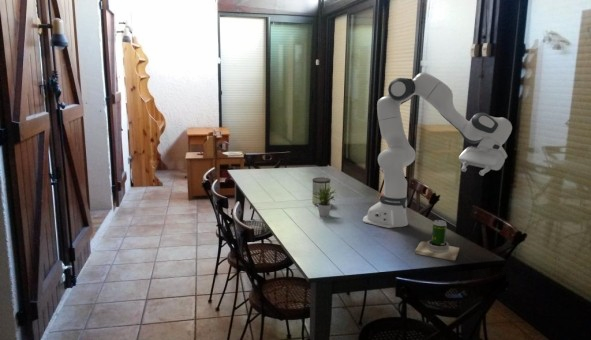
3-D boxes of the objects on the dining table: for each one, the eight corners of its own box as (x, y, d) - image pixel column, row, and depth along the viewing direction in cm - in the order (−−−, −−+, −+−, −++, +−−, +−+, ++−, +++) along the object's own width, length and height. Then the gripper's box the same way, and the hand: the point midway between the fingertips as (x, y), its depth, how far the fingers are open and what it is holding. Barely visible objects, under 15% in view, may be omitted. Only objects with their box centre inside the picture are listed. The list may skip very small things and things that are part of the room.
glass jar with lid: (312, 200, 276) (313, 177, 273) (330, 201, 275) (330, 177, 272) (311, 205, 266) (311, 181, 263) (329, 205, 265) (330, 181, 262)
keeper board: (415, 253, 196) (415, 244, 196) (421, 244, 207) (421, 235, 206) (454, 260, 189) (455, 251, 188) (459, 250, 200) (459, 242, 199)
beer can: (447, 249, 197) (449, 222, 195) (439, 252, 194) (442, 224, 191) (435, 245, 201) (437, 218, 199) (428, 248, 198) (430, 221, 195)
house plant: (336, 221, 238) (337, 189, 235) (309, 219, 241) (310, 188, 237) (339, 213, 252) (340, 183, 248) (314, 211, 254) (314, 182, 251)
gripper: (465, 141, 217) (449, 164, 214) (505, 147, 200) (488, 172, 197) (471, 150, 220) (455, 172, 217) (510, 157, 203) (494, 181, 200)
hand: (471, 172), depth 207 cm, fingers open, 8 cm apart
